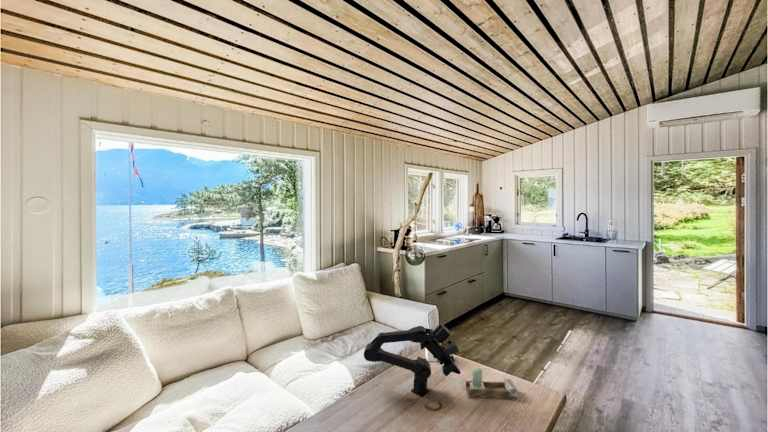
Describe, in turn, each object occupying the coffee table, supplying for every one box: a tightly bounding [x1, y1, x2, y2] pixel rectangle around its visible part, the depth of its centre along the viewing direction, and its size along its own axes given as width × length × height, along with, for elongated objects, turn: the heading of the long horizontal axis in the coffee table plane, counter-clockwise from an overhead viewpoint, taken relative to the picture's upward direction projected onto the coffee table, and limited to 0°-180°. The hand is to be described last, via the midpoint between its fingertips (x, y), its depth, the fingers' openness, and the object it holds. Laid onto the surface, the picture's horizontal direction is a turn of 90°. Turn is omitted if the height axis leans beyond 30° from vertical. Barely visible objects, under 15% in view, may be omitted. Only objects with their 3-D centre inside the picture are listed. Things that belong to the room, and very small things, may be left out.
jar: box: [424, 338, 442, 363], centre depth 182 cm, size 9×8×12 cm
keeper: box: [470, 367, 485, 390], centre depth 147 cm, size 6×5×9 cm
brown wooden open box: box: [465, 378, 518, 401], centre depth 147 cm, size 21×8×5 cm, turn 86°
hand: (460, 373), depth 147 cm, fingers closed
